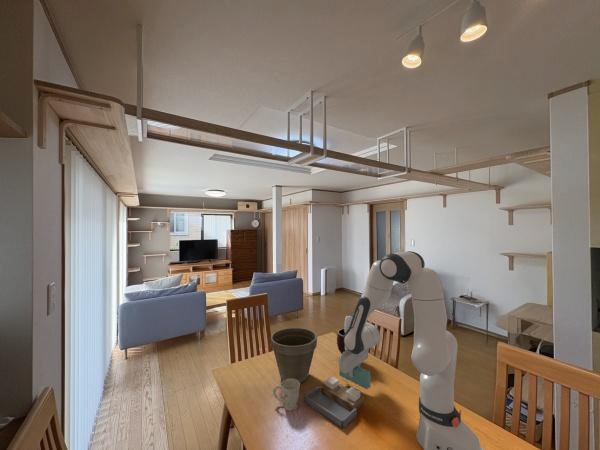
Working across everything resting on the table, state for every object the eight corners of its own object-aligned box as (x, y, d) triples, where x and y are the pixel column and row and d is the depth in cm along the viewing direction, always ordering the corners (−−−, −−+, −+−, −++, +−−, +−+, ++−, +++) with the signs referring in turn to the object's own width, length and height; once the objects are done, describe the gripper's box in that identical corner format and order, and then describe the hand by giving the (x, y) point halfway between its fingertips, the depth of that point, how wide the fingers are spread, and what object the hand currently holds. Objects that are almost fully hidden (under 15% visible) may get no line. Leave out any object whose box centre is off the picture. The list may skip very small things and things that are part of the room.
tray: (356, 416, 106) (356, 408, 106) (342, 429, 99) (342, 421, 99) (318, 392, 121) (318, 386, 121) (304, 402, 114) (304, 395, 114)
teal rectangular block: (370, 386, 119) (370, 371, 119) (367, 389, 117) (366, 374, 117) (343, 373, 130) (342, 359, 131) (339, 375, 128) (339, 361, 128)
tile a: (360, 397, 112) (360, 391, 112) (354, 402, 109) (354, 396, 109) (351, 392, 116) (351, 386, 116) (346, 397, 112) (345, 391, 112)
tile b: (338, 385, 121) (338, 380, 121) (332, 389, 118) (332, 384, 118) (331, 381, 124) (331, 376, 124) (325, 385, 121) (325, 380, 121)
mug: (298, 414, 107) (297, 390, 107) (270, 410, 110) (269, 387, 110) (301, 401, 115) (301, 379, 115) (275, 397, 118) (275, 376, 118)
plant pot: (295, 359, 153) (294, 323, 153) (327, 375, 135) (326, 335, 135) (261, 376, 135) (261, 336, 135) (293, 398, 117) (292, 351, 118)
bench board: (363, 404, 113) (363, 396, 113) (353, 413, 107) (353, 405, 107) (331, 386, 126) (331, 379, 126) (321, 394, 120) (321, 386, 120)
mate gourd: (332, 360, 150) (331, 327, 150) (347, 353, 159) (346, 321, 159) (353, 371, 138) (352, 335, 139) (368, 362, 147) (367, 328, 148)
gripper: (346, 356, 114) (347, 386, 114) (370, 341, 129) (370, 368, 128) (335, 351, 119) (336, 380, 119) (359, 338, 133) (360, 364, 133)
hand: (354, 374), depth 124 cm, fingers closed on teal rectangular block, 3 cm apart
